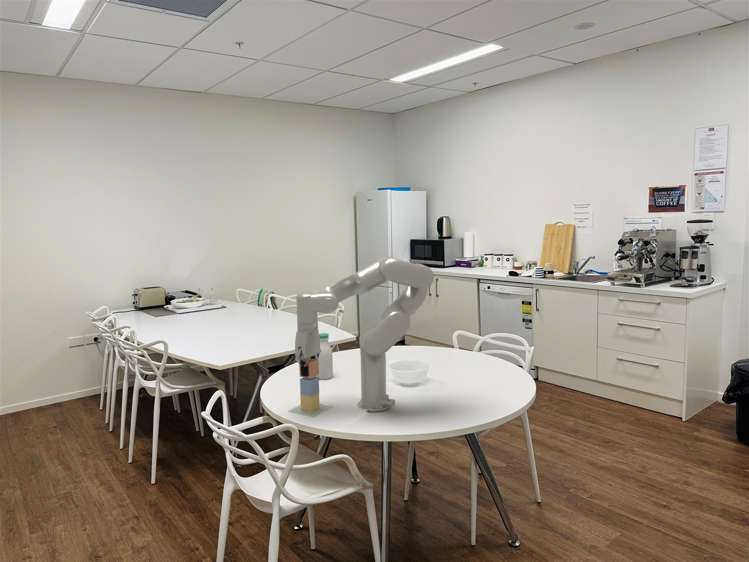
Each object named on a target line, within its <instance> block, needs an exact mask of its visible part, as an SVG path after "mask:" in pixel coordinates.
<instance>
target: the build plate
mask: <svg viewBox="0 0 749 562" xmlns="http://www.w3.org/2000/svg"><path fill="white" fill-rule="evenodd" d="M319 406H320V408H318V409H317V410H315V411H313V412H309V411H304V410H301V404H300V405H297V406H296V407H292V408H291V409H290V410H289V409H288V410H287V412H289V413H292V414H298V415H302V416H308V417H312V418H315V417H317V416H319V415H320V414H322V413H323V412H326V411H328V409H331V408H332V407H333V406H332V405H327V404H321V403H319Z"/></svg>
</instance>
